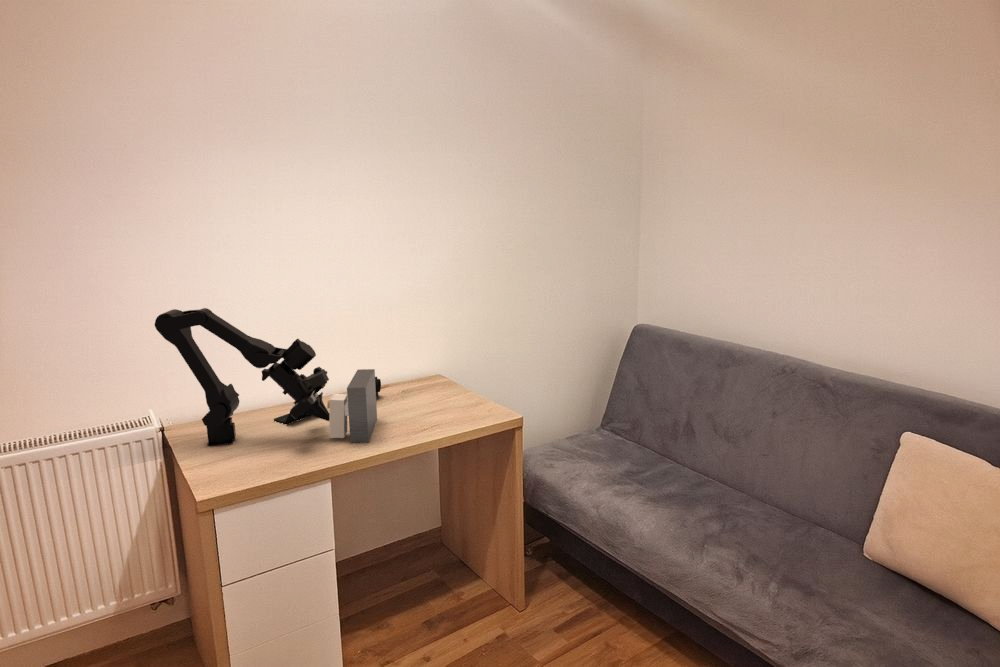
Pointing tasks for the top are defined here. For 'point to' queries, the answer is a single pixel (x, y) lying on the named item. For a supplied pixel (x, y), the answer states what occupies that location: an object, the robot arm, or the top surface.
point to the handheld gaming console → (289, 418)
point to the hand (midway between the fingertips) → (330, 419)
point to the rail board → (361, 406)
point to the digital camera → (377, 385)
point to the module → (337, 416)
